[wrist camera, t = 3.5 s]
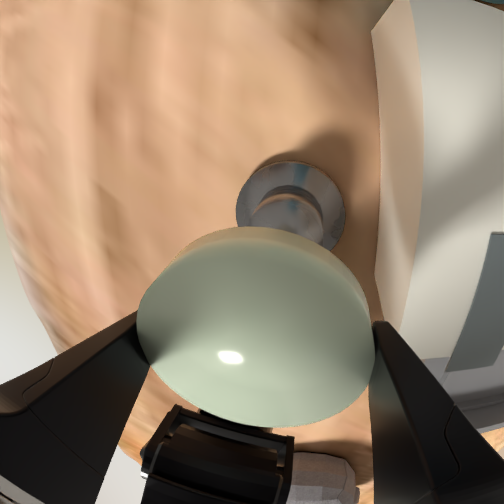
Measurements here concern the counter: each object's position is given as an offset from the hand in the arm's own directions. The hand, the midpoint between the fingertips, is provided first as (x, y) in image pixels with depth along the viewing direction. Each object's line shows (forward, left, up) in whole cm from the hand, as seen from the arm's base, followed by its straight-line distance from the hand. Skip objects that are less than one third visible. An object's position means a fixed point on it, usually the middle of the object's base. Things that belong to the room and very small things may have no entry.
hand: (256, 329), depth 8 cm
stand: (0, 0, -10) cm, 10 cm away
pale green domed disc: (0, 0, 0) cm, 0 cm away
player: (+3, -15, -10) cm, 18 cm away
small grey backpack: (-39, -2, -10) cm, 40 cm away
